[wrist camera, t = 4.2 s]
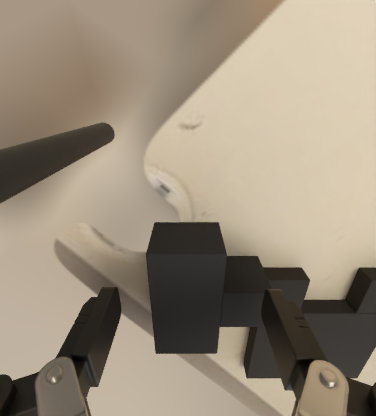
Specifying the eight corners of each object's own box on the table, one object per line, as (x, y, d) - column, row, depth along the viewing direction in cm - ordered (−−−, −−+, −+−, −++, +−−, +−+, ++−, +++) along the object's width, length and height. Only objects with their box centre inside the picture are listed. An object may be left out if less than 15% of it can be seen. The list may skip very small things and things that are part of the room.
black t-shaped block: (248, 311, 22) (260, 353, 18) (160, 311, 22) (155, 353, 18) (263, 222, 17) (283, 254, 14) (154, 222, 17) (145, 254, 14)
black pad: (243, 363, 25) (246, 378, 24) (261, 267, 19) (267, 280, 18) (348, 363, 26) (357, 378, 24) (399, 267, 19) (415, 280, 18)
